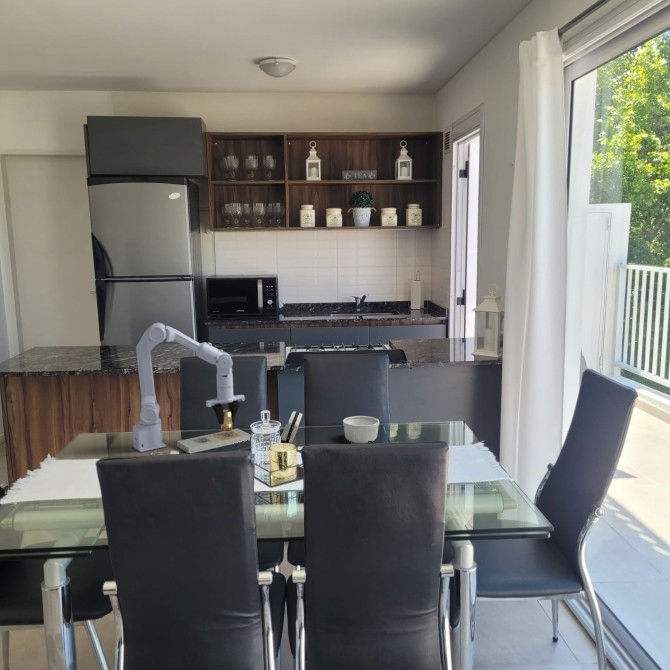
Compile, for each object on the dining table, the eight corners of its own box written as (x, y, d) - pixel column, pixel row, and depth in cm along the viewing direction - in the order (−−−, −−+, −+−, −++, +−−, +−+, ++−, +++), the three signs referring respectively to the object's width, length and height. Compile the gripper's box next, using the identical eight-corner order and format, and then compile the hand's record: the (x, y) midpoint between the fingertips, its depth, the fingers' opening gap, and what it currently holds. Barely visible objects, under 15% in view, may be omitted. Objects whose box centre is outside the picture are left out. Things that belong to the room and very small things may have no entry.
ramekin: (382, 434, 218) (382, 416, 217) (375, 445, 205) (375, 426, 204) (347, 432, 221) (347, 414, 220) (339, 443, 209) (339, 424, 208)
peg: (224, 432, 210) (223, 413, 209) (219, 429, 213) (218, 410, 212) (234, 429, 212) (233, 411, 211) (229, 427, 215) (228, 409, 214)
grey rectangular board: (189, 453, 199) (188, 447, 199) (177, 446, 207) (177, 440, 206) (250, 439, 213) (250, 434, 213) (237, 433, 221) (237, 428, 221)
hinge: (284, 429, 226) (292, 405, 225) (295, 433, 226) (304, 409, 225) (278, 442, 210) (286, 417, 208) (290, 447, 210) (299, 421, 208)
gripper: (211, 391, 203) (213, 428, 205) (248, 385, 212) (249, 421, 214) (202, 387, 209) (204, 424, 210) (238, 382, 217) (240, 417, 219)
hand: (226, 422), depth 212 cm, fingers closed on peg, 4 cm apart
